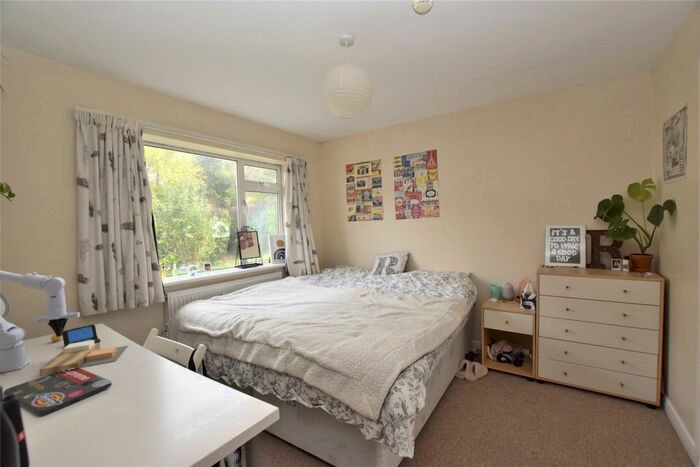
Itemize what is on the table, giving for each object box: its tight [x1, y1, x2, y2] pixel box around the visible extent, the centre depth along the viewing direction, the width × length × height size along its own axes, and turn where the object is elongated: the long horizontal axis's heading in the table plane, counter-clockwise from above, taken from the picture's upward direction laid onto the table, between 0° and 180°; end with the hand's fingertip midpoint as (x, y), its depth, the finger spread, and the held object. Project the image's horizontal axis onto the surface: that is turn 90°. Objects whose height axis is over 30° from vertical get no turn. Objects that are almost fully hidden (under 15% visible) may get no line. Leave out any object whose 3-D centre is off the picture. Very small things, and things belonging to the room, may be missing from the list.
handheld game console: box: [62, 324, 101, 348], centre depth 150 cm, size 12×11×7 cm
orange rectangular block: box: [86, 346, 118, 361], centre depth 133 cm, size 9×6×2 cm, turn 112°
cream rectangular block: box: [62, 340, 96, 353], centre depth 137 cm, size 9×6×2 cm, turn 112°
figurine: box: [50, 333, 63, 343], centre depth 155 cm, size 8×6×12 cm
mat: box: [79, 345, 129, 369], centre depth 134 cm, size 12×17×1 cm
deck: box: [38, 342, 101, 377], centre depth 131 cm, size 12×22×2 cm, turn 22°
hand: (59, 335), depth 134 cm, fingers closed
